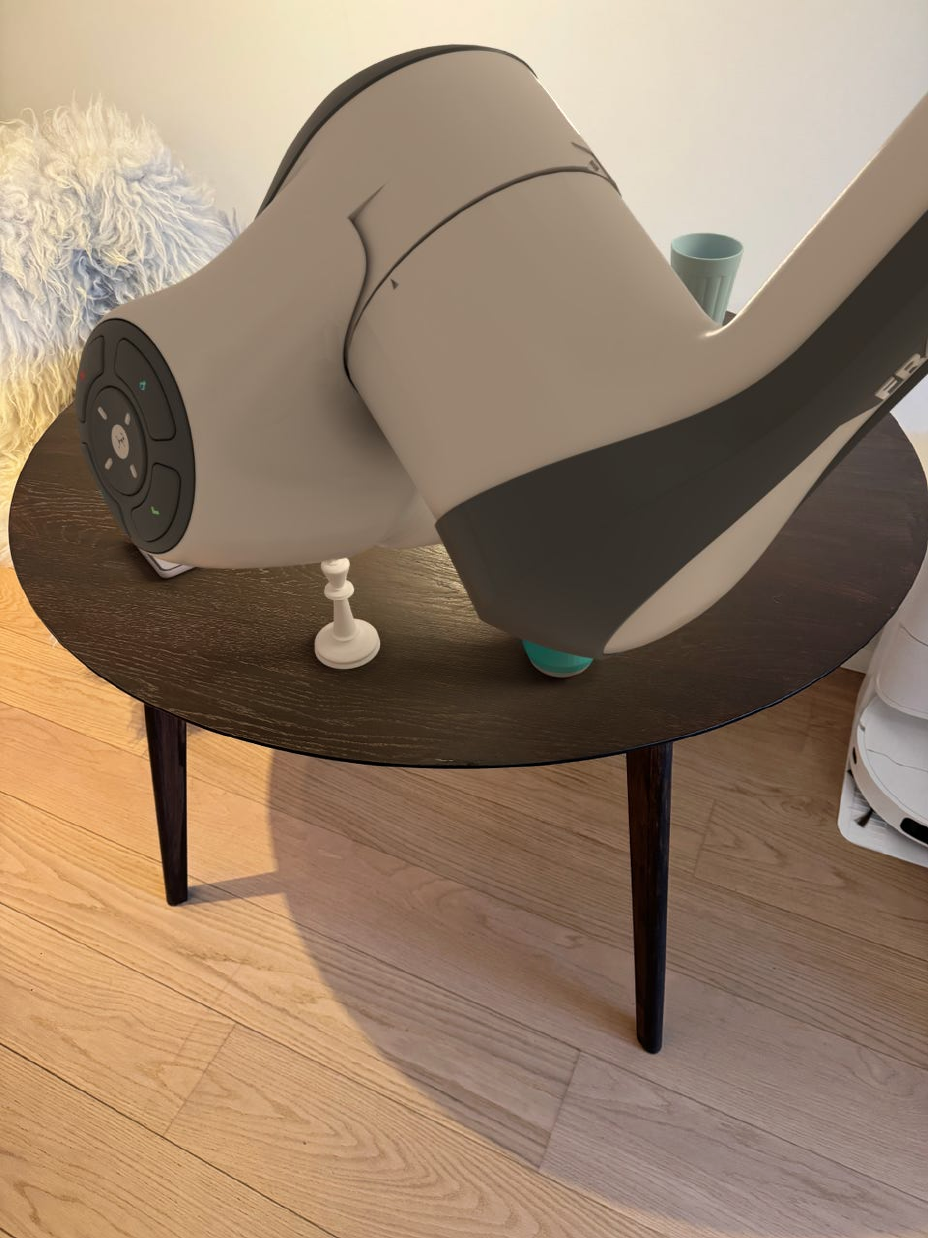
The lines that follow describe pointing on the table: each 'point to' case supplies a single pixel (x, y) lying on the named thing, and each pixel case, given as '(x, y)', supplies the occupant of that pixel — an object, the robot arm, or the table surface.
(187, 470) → the robot arm
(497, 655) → the table surface
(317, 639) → the chess piece
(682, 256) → the cup
